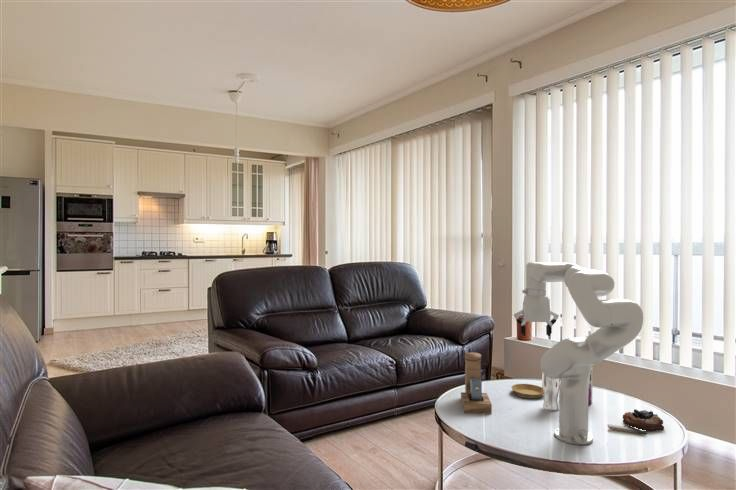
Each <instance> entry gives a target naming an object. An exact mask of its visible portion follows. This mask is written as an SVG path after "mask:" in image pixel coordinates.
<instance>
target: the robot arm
mask: <svg viewBox="0 0 736 490" xmlns="http://www.w3.org/2000/svg"><path fill="white" fill-rule="evenodd" d="M525 281H526V282H525V289H522V294H525V295H524V296H523V301H522V310H519V311H518V312H516V313H513V318H514V319H515V321H516V323H518V324H519V325H520V334H521V335H522V336H523V337H526V326H525V325H526V323H527V322H529V323H530V322H531V323H546V325H545V327H546V329H545V330H546V331H545V333H546V336H548V337H551V334H552V330H553V325H555V323H556V322H557V320H558V319H559V314H557V313H556V312H553V311H551V306H550V299H549V296H547V283H557V282H558V283H559V282H561V283H562V282H563V283H564V284H565V286H566V287H567V290H568V292H569V294H570V296H571V299H572V300H573V302H574V303H575V305H576V306H577V308H578V310H579V311H580V313H581V315H582V317H583V318H584V320H585V321H586V322H587V323H588V325H590V326H591V327H594V328H598V329H596V330H595V331H593V333H591V334H589V335H586V336H579V337H569V338H568V337H567V338H565V339H562V340H560V341H558V342H557V343H556V344H554V345H553V346H551V348H549V349H548V350H547V351H545V352H544V353H543V354H542V356H541V359H540V369H541V372H543V373H544V374H545V375H546V376H547V377H549V378H552V379H560V387H559V393H558V399H559V400H558V410H559V411H558V412H559V413H558V417H559V418H558V419H559V420H558V425H559V426H558V428H556V429H555V430H554V437H556V439H558V440H559V441H562V442H565V443H567V444H571V445H576V446H577V445H580V446H585V445H590V444H591V443H593V442H594V437H593V435H592V434H591V433H590V432H589V405H588V386H589V377H590V373H591V368H592V365H593V366H594V365H595V366H596V365H598V364H601V362H604V360H606V359H607V358H609V357H611V356H612V355H614V354H615V353H616V352H617V351H620V350H621V349H622V348H625V347H626V346H627V345H629V344H631V342H633V341H634V340H635V339H636V338H637V337H638V336H639V334H640V333H641V330H642V329H643V325H644V313H643V309H642V308H641V306H640V305H639V304H638V303H637V302H635V301H632V300H630V299H624V298H615V299H614V298H613V299H599V298H598V297H604V296H607V295H609V294H610V293H612V292H613V290H614V288H615V280H614V278H613V277H612V275H610V274H608V273H607V272H605V271H603V270H598V269H591V268H586V267H582V266H580V265H578V264H575V263H569V262H562V261H561V262H558V261H557V262H556V261H555V262H543V261H529V262H527V263H526V266H525ZM521 315H522V319H520V317H519V316H521ZM551 316H553V318H552V319H551Z"/></svg>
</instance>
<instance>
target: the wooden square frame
mask: <svg viewBox="0 0 736 490" xmlns="http://www.w3.org/2000/svg"><path fill="white" fill-rule="evenodd" d="M481 362H482V354H481V353H479V352H473V351H472V352H465V353H464V363H465V364H464V367H465V368H464V379H465V380H464V381H465V382H464V386H465V388H464V389H465V390H464V392H462V391H461V392H460V404H461V407H462V410H464V411H463V413H464V414H483V413H486V415H488V414H489V415H490V414H492V411H493V410H492V408H493V405H492V402H491V400H490V397H489V395H488V393H487V392H482V401H470V377H480V379H481V380H482V377H481V376H482V371H481V370H482V363H481Z"/></svg>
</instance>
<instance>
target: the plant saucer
mask: <svg viewBox="0 0 736 490" xmlns="http://www.w3.org/2000/svg"><path fill="white" fill-rule="evenodd" d="M511 389H512V391H513V392H514V394H515V395H517V396H518V397H522V398H525V399H538V398H541V397H543V396H544V395H543V389H542V386H540V385H536V384H530V383H518V384H517V383H516V384H513V385H512V386H511Z"/></svg>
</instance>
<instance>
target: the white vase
mask: <svg viewBox="0 0 736 490" xmlns="http://www.w3.org/2000/svg"><path fill="white" fill-rule="evenodd" d="M541 372H542V371H541ZM541 375H542V376H541V387H542V389H543V395H542V396H543V403H542V408H543V409H544V410H546V411H551V412H555V411H558V410H559V402H558V399H559V387H560V382H561V378H560V379H552V378H549V377H547V376H546V375H545V374H544V373H543V372H542V374H541Z"/></svg>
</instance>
